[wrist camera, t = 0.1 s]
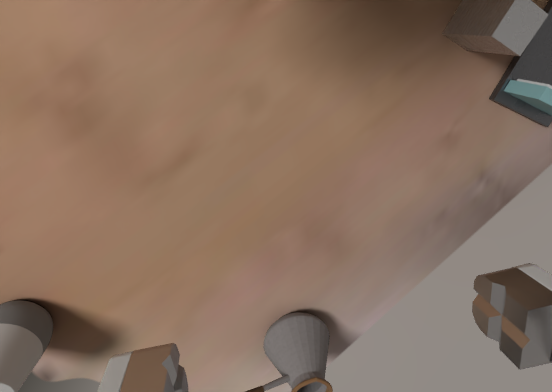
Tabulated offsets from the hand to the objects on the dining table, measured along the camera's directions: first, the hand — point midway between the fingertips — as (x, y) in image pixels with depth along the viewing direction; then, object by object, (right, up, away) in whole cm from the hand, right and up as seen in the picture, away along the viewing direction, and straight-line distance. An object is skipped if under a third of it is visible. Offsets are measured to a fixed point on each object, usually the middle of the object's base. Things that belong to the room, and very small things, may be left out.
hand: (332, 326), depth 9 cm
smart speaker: (-39, -15, +44) cm, 61 cm away
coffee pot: (-3, -20, +53) cm, 57 cm away
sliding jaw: (+35, +17, +40) cm, 56 cm away
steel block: (+23, +25, +36) cm, 49 cm away
